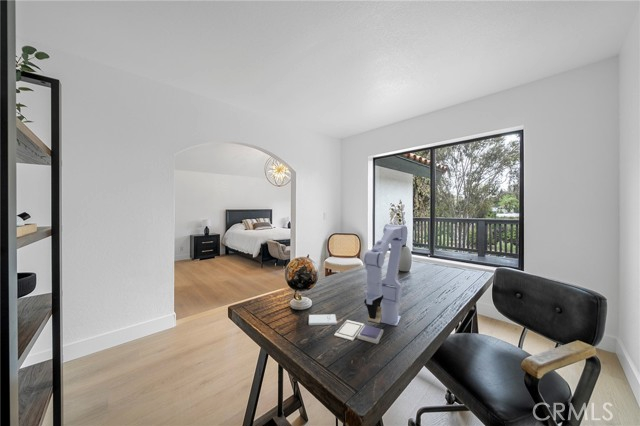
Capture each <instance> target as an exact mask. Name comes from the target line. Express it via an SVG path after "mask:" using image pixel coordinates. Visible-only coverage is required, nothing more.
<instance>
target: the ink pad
mask: <svg viewBox="0 0 640 426" xmlns="http://www.w3.org/2000/svg"><path fill="white" fill-rule="evenodd" d="M383 334H384V329H382V328H378V327H375V326H370V325H366V324H364V326H363V327H362V328H361V330H360V331H359V333H358V334H357V336H356V337H357V338H356V339H359V340H362V341H366V342H369V343H373V344H377V345H378V344H379V342H380V340H381V338H382V336H383Z"/></svg>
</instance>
